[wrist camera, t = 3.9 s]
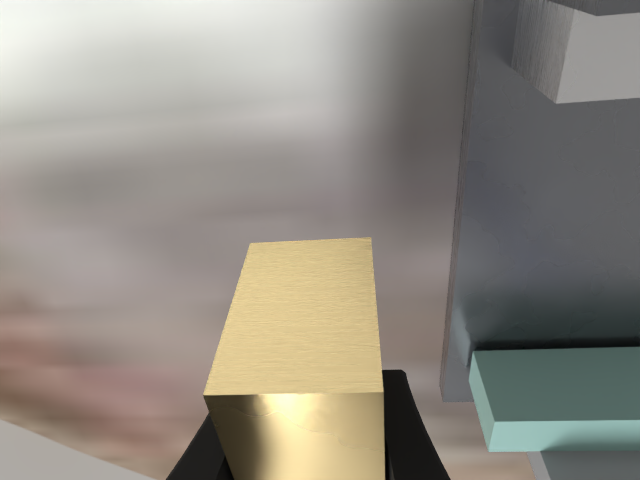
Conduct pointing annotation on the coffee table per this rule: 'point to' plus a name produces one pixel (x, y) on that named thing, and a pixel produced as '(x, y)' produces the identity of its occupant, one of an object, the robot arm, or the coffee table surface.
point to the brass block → (301, 365)
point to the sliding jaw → (562, 409)
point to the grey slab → (546, 184)
